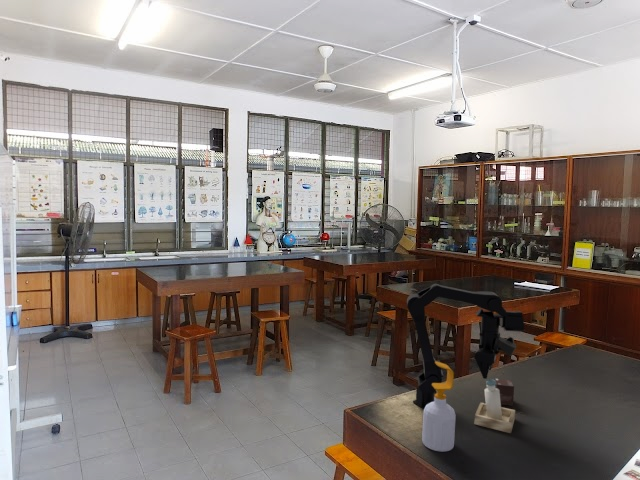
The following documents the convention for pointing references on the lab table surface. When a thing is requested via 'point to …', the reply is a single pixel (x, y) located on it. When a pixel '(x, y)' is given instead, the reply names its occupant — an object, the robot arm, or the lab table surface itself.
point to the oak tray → (502, 424)
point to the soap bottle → (439, 417)
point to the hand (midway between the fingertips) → (487, 374)
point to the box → (505, 391)
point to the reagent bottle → (493, 400)
